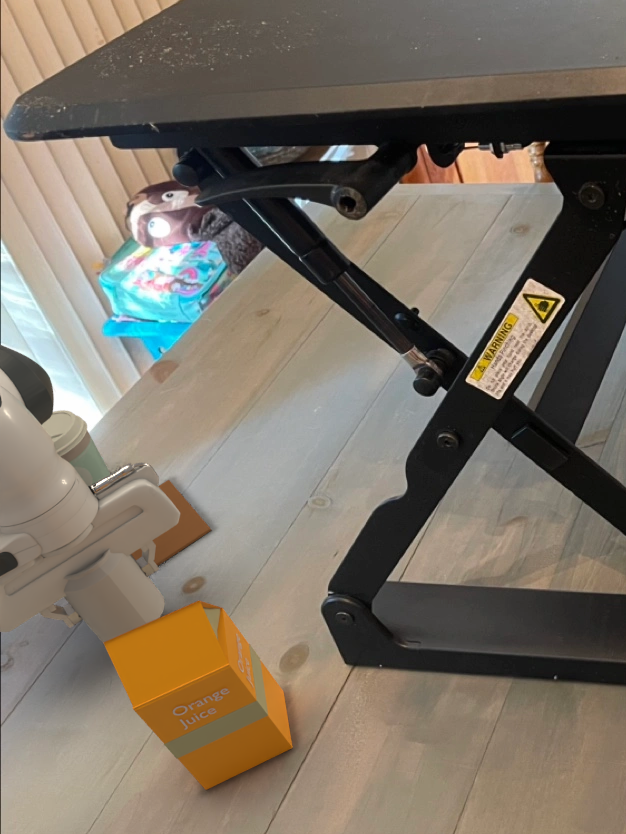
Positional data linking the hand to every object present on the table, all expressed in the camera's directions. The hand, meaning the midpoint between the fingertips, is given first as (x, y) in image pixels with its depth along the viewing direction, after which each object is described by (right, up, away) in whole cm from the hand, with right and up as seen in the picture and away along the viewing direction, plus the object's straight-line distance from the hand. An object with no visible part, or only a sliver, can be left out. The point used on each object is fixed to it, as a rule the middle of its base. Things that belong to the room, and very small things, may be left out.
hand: (113, 595), depth 118 cm
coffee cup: (-17, +7, +25) cm, 31 cm away
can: (+1, -4, +3) cm, 5 cm away
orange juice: (+19, -13, -9) cm, 25 cm away
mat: (-6, +3, +17) cm, 18 cm away
